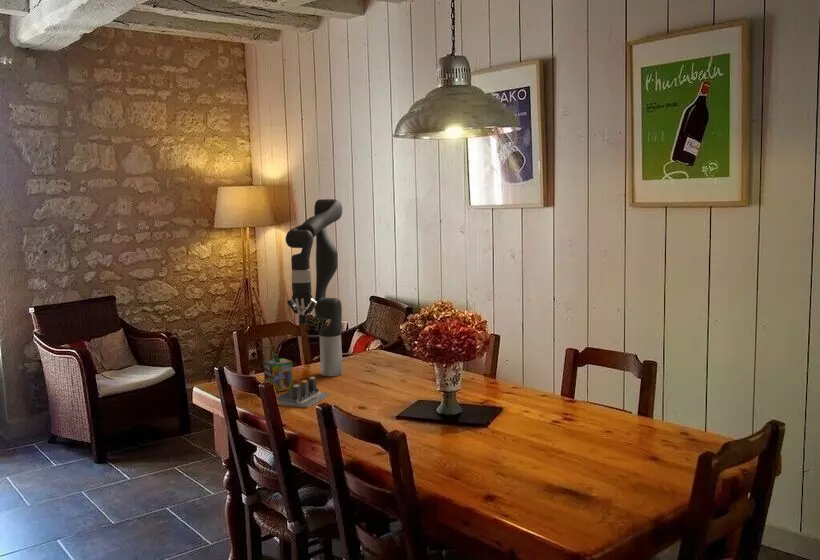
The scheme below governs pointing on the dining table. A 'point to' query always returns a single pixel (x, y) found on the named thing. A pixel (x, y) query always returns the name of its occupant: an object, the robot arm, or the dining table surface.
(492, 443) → the dining table surface
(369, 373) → the dining table surface
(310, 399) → the grey pegged base plate
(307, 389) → the breaker
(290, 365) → the chalk box
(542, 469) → the dining table surface
